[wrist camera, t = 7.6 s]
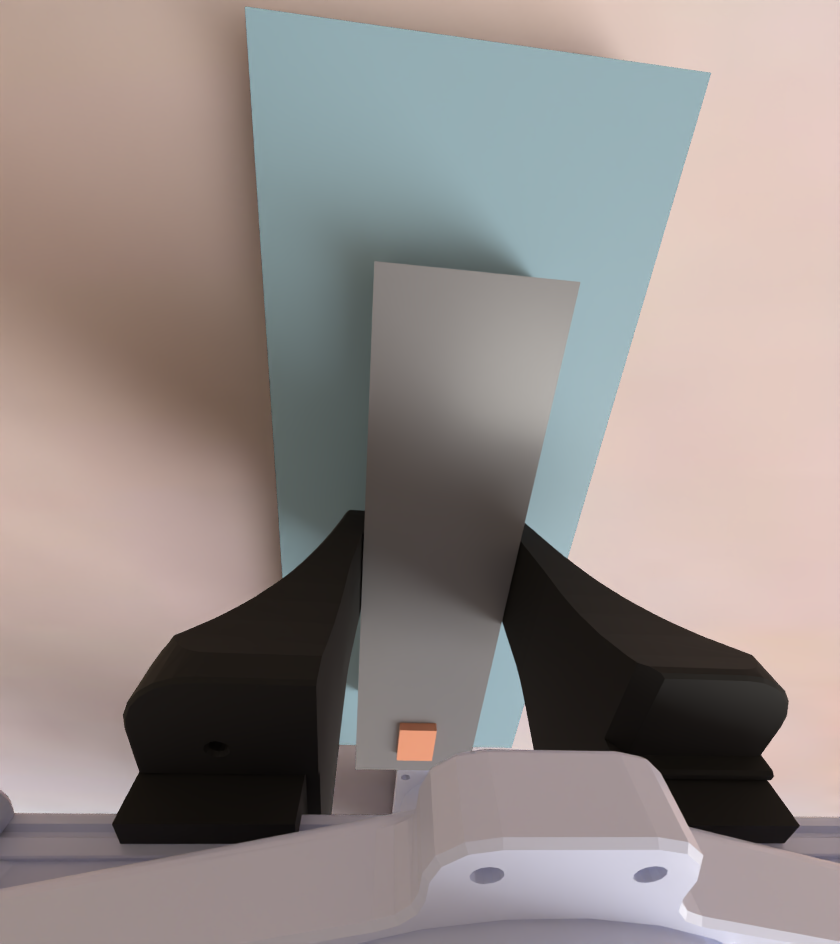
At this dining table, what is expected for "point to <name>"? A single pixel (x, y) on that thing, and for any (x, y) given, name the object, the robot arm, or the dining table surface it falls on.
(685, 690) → the robot arm
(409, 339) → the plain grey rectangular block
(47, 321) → the dining table surface
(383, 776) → the dining table surface
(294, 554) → the light blue board
